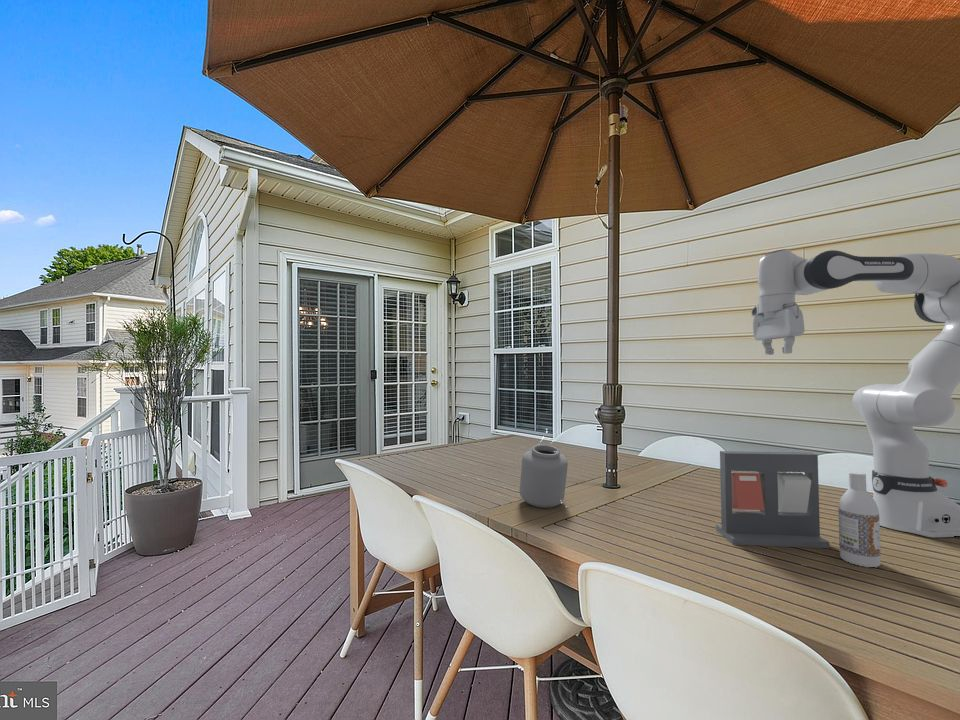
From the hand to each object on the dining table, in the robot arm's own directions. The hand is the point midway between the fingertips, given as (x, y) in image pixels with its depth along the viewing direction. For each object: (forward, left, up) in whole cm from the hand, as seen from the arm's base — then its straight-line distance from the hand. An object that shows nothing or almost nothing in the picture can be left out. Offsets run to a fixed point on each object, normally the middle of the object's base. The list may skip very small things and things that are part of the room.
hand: (778, 354), depth 124 cm
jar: (+67, -8, -48) cm, 83 cm away
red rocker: (+16, +15, -40) cm, 46 cm away
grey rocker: (+5, +13, -40) cm, 43 cm away
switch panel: (+10, +14, -48) cm, 51 cm away
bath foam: (-3, +26, -48) cm, 55 cm away
